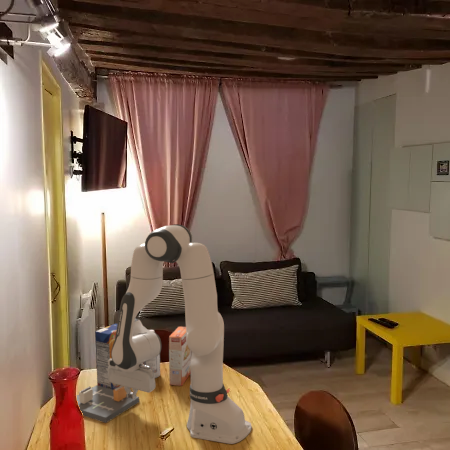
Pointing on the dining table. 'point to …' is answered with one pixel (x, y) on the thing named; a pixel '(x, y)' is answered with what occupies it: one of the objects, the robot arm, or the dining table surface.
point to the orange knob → (119, 393)
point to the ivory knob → (86, 395)
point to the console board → (105, 405)
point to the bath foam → (154, 364)
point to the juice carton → (104, 354)
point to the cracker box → (179, 357)
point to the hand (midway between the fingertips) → (131, 397)
